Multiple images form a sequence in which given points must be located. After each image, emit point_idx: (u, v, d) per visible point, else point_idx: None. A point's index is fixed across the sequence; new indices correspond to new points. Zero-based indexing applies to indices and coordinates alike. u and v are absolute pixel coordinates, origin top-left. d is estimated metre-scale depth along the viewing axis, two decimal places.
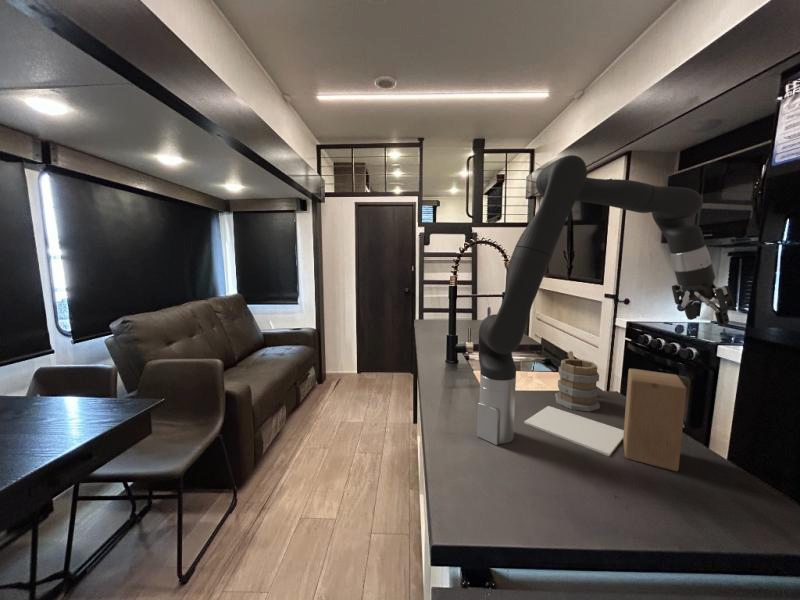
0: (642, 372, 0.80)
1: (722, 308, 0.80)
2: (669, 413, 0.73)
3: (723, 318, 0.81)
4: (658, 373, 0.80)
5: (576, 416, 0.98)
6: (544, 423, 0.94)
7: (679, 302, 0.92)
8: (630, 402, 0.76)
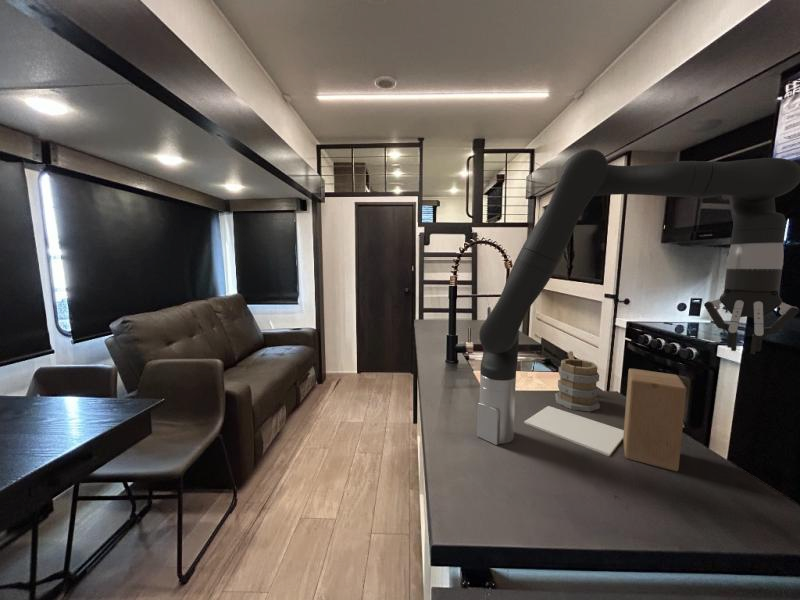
0: (642, 372, 0.80)
1: (773, 330, 0.62)
2: (669, 413, 0.73)
3: (761, 344, 0.64)
4: (658, 373, 0.80)
5: (576, 416, 0.98)
6: (544, 423, 0.94)
7: (724, 325, 0.67)
8: (630, 402, 0.76)
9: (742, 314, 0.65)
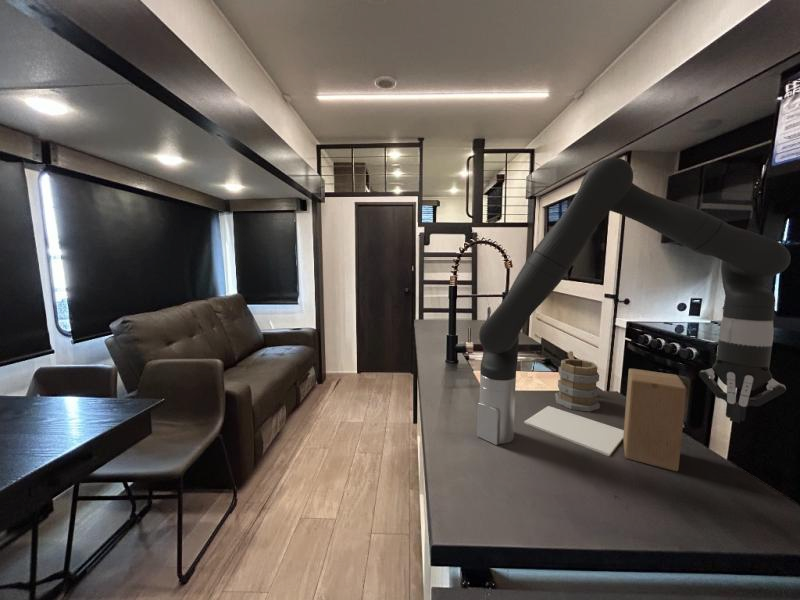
0: (642, 372, 0.80)
1: (756, 402, 0.64)
2: (669, 413, 0.73)
3: (745, 414, 0.66)
4: (658, 373, 0.80)
5: (576, 416, 0.98)
6: (544, 423, 0.94)
7: (723, 395, 0.68)
8: (630, 402, 0.76)
9: (736, 385, 0.66)
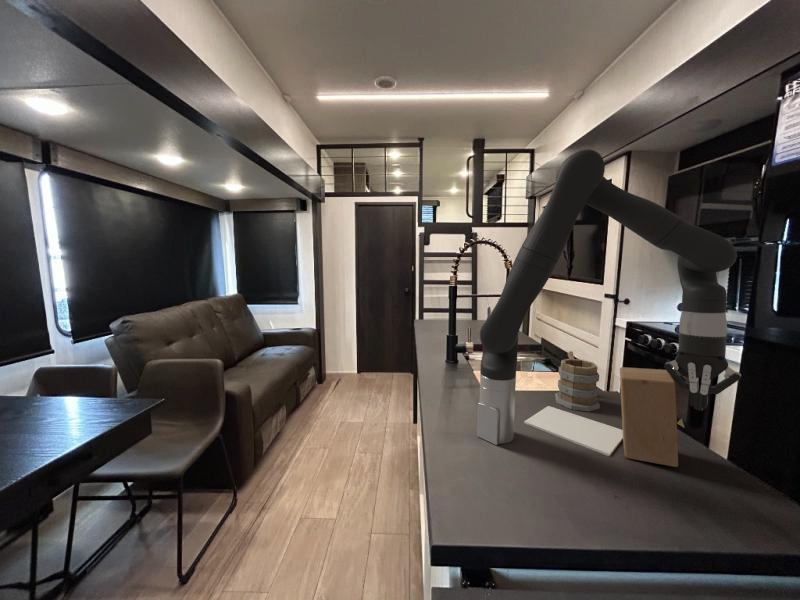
0: (632, 370, 0.82)
1: (715, 390, 0.68)
2: (661, 409, 0.73)
3: (706, 402, 0.70)
4: (648, 370, 0.81)
5: (576, 416, 0.98)
6: (544, 423, 0.94)
7: (686, 385, 0.72)
8: (623, 400, 0.77)
9: (697, 375, 0.70)
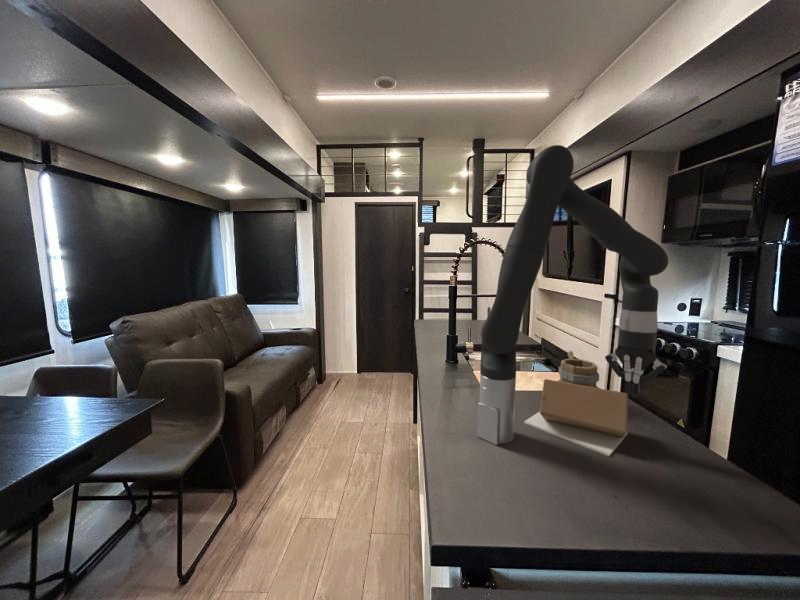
0: None
1: (645, 379, 0.78)
2: (569, 392, 0.88)
3: (638, 389, 0.80)
4: None
5: None
6: (544, 423, 0.94)
7: (622, 374, 0.81)
8: (562, 418, 0.86)
9: (631, 365, 0.80)
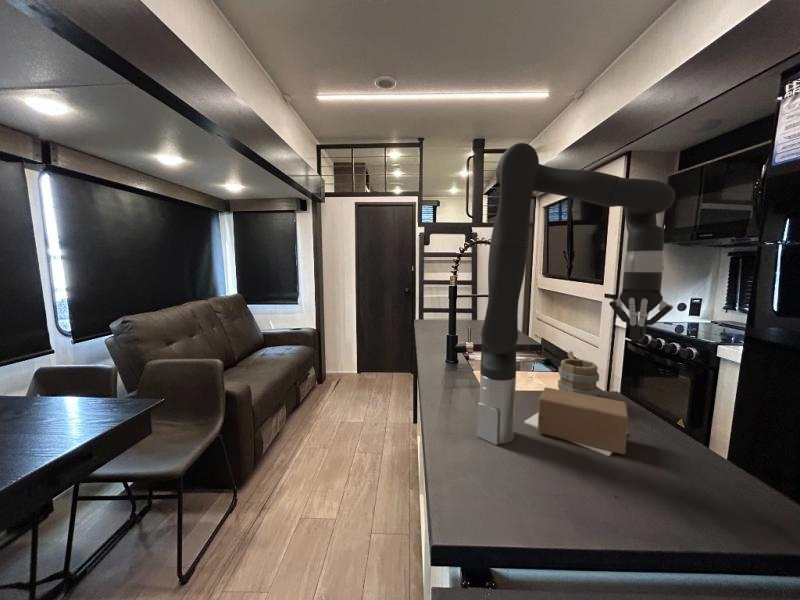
0: None
1: (650, 321, 0.76)
2: (565, 413, 0.84)
3: (643, 333, 0.78)
4: None
5: None
6: None
7: (627, 319, 0.80)
8: (560, 437, 0.86)
9: (636, 309, 0.78)
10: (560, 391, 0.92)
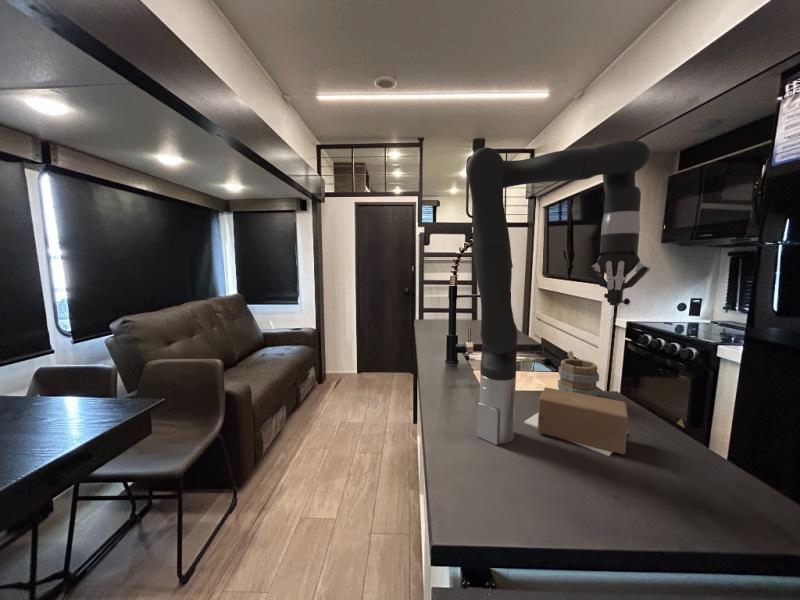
0: None
1: (627, 284, 0.75)
2: (565, 413, 0.84)
3: (620, 297, 0.77)
4: None
5: None
6: None
7: (605, 283, 0.79)
8: (560, 437, 0.86)
9: (614, 272, 0.77)
10: (560, 391, 0.92)
